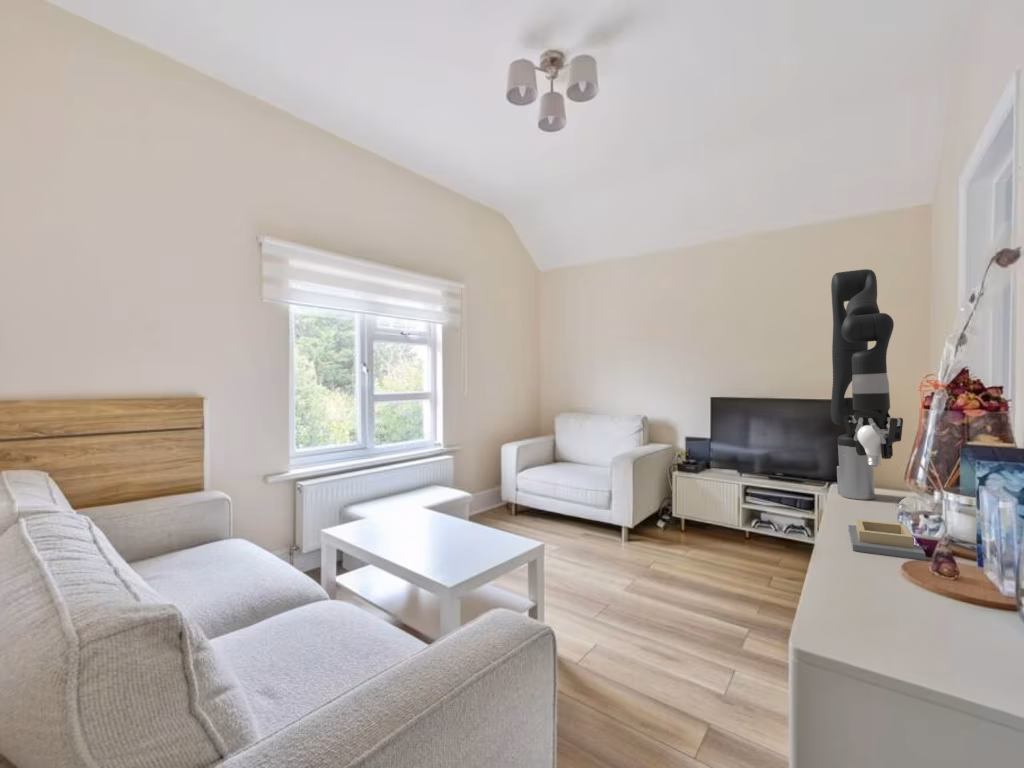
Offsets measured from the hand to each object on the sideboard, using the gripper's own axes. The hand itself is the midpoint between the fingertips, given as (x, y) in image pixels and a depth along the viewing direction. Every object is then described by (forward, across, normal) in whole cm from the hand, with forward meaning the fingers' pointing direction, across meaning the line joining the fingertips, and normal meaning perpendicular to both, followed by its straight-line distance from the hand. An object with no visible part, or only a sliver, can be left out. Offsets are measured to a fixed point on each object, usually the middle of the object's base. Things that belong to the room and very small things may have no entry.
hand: (873, 456), depth 117 cm
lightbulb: (+3, 0, 0) cm, 3 cm away
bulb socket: (+21, -4, +4) cm, 21 cm away
